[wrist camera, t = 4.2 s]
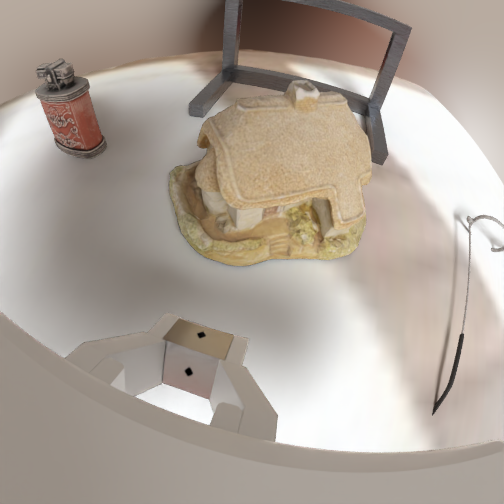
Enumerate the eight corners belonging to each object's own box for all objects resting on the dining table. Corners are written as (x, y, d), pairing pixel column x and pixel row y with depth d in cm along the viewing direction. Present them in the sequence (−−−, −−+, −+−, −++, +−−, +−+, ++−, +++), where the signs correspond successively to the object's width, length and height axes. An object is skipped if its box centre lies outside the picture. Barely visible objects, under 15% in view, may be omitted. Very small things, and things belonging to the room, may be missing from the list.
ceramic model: (315, 147, 24) (343, 54, 16) (383, 243, 20) (455, 147, 11) (164, 177, 21) (145, 63, 12) (202, 307, 16) (178, 191, 7)
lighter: (113, 141, 23) (91, 52, 14) (89, 163, 21) (57, 71, 13) (71, 128, 24) (48, 56, 15) (50, 147, 22) (22, 74, 14)
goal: (189, 115, 25) (186, -10, 13) (225, 76, 31) (231, -17, 19) (382, 165, 24) (438, 47, 12) (374, 114, 30) (408, 25, 18)
